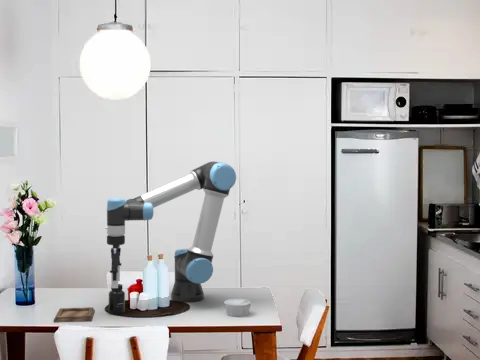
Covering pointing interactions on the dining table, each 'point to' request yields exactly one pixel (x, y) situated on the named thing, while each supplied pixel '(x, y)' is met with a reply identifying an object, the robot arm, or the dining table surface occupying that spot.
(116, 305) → the supplement bottle
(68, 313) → the walnut tray
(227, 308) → the ramekin
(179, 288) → the robot arm
